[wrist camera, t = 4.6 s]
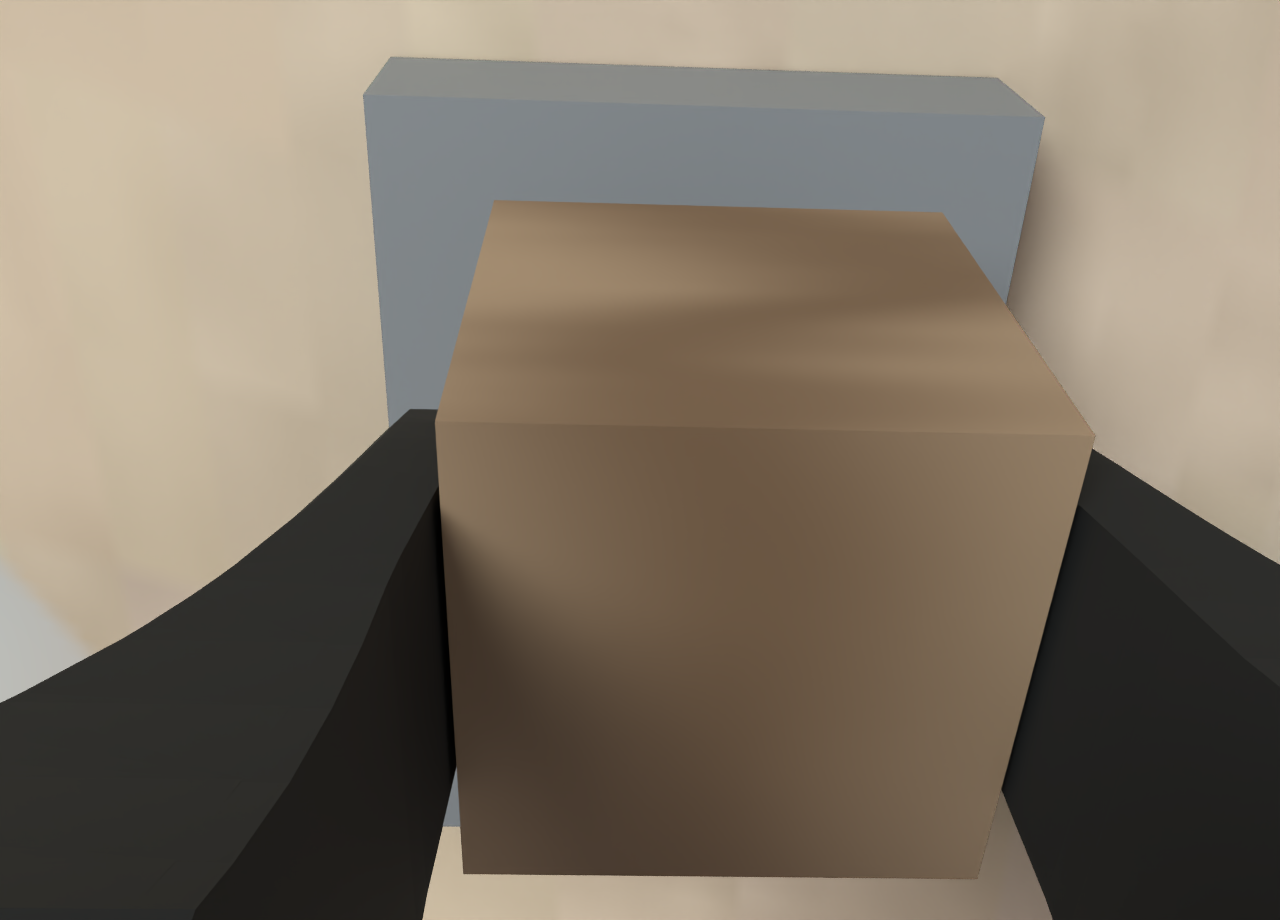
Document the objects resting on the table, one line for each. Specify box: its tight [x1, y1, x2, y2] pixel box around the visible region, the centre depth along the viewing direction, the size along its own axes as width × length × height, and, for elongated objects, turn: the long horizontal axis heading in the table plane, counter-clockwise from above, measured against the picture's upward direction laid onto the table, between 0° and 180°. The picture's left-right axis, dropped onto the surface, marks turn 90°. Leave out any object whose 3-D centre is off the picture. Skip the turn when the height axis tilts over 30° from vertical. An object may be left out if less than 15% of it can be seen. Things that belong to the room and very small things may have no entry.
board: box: [363, 57, 1045, 827], centre depth 18 cm, size 8×12×2 cm, turn 178°
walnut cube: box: [435, 200, 1095, 879], centre depth 11 cm, size 4×4×4 cm
